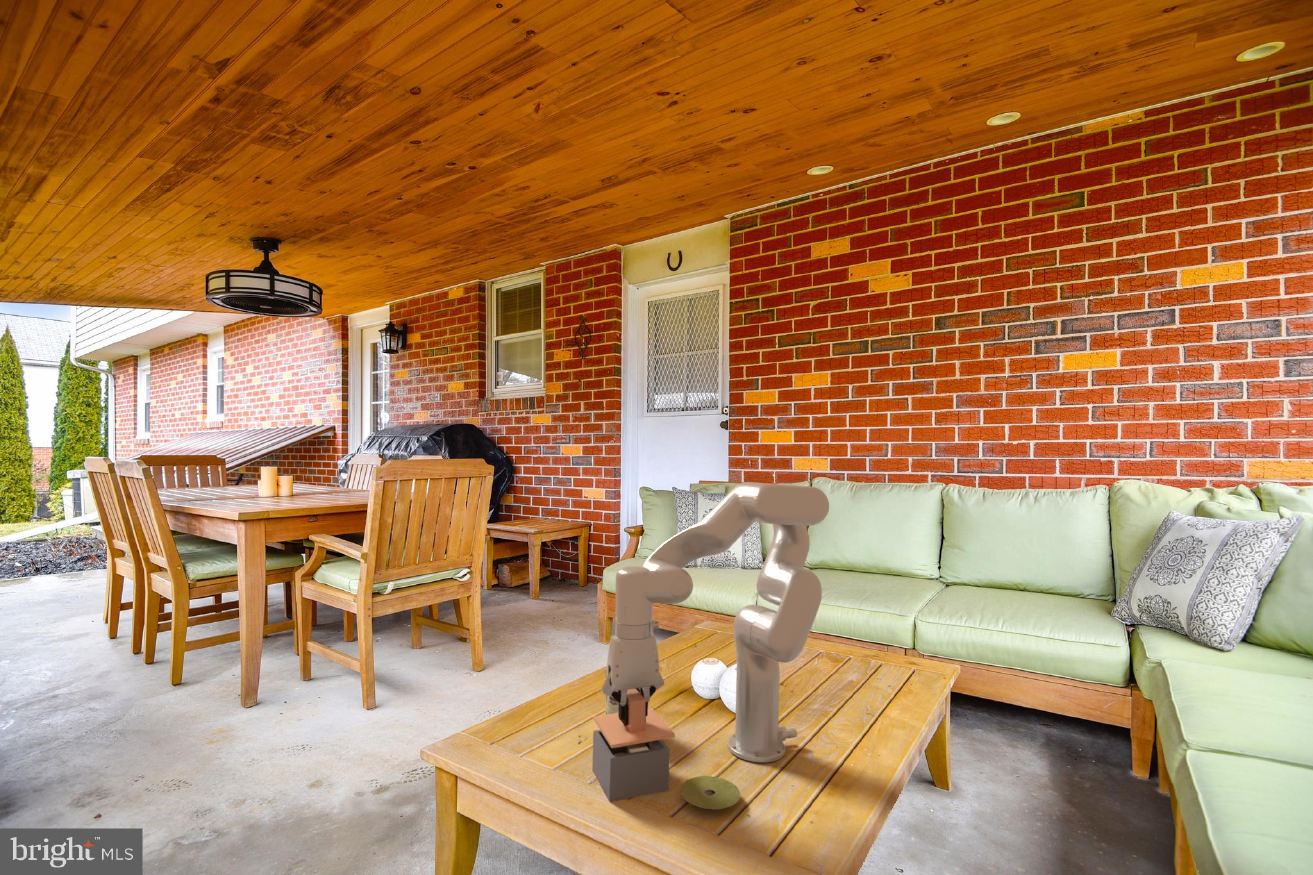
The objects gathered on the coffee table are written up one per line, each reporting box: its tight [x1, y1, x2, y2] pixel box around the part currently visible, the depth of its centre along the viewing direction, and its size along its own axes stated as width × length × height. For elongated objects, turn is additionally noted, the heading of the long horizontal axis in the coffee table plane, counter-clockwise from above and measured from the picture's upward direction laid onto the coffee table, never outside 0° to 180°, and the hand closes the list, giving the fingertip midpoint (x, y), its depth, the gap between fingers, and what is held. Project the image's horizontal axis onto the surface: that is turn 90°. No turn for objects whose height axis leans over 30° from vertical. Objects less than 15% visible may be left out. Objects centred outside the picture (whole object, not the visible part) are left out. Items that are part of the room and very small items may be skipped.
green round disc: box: [680, 775, 741, 810], centre depth 114 cm, size 11×11×2 cm
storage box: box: [591, 729, 670, 802], centre depth 121 cm, size 12×12×8 cm
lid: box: [593, 689, 676, 748], centre depth 122 cm, size 13×13×7 cm
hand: (633, 720), depth 122 cm, fingers closed on lid, 3 cm apart
